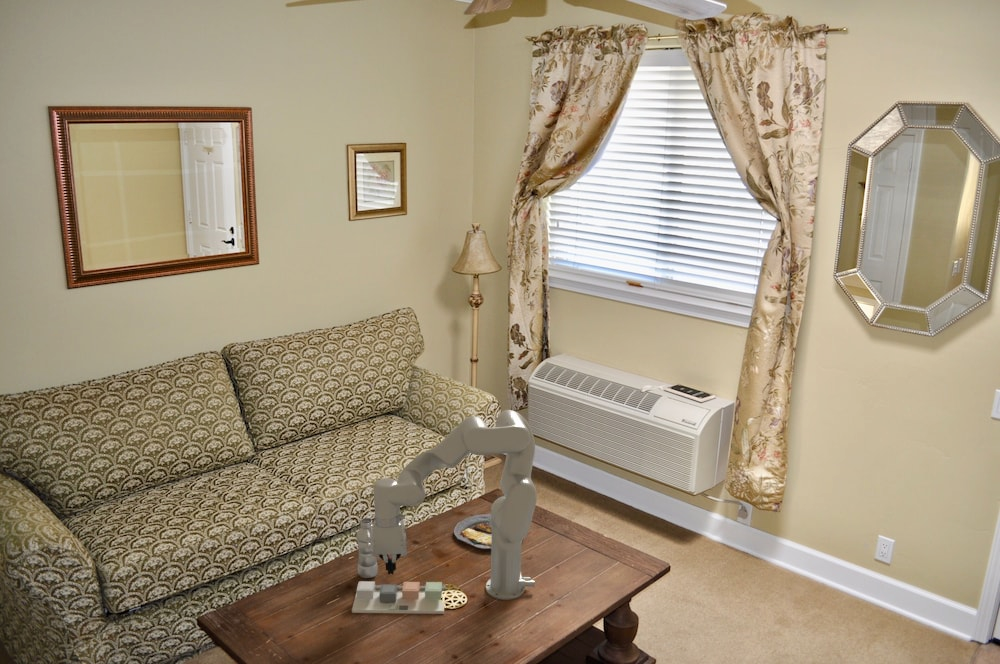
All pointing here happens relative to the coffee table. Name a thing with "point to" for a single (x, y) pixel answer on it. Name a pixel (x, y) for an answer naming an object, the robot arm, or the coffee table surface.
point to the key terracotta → (411, 590)
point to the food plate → (472, 536)
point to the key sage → (433, 591)
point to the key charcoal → (388, 593)
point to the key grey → (365, 589)
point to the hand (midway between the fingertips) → (391, 571)
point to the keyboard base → (399, 604)
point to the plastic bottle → (366, 550)
